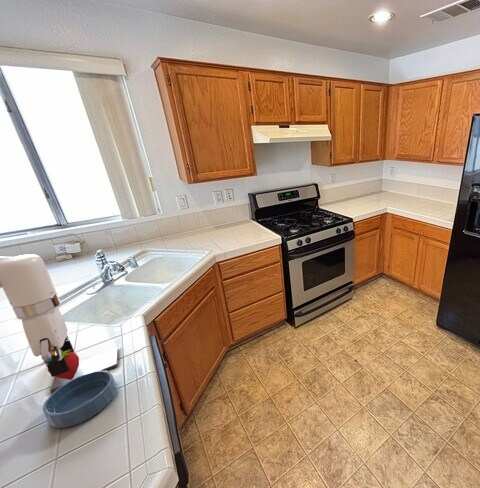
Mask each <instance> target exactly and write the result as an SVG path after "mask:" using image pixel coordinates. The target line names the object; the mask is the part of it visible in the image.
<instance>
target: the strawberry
mask: <svg viewBox="0 0 480 488" xmlns="http://www.w3.org/2000/svg"><path fill="white" fill-rule="evenodd" d="M71 350H72V349H71ZM71 350H67V351H64V352H62V350H61V355H62V358H63V357H64V358H65V360H66V362H67V365H68V367H69V371H68V372H65V373H63V374H60V375H57V376H54V377H58V378H62V379H68V380H71V379H73V378H74V376H75V374H76V372H77V369H78V366H79V362H80V357H79V355H78V354H77V353H76V352H75V351H74V352H69V351H71ZM55 355H56V356H57V354H55ZM47 371H48V372H49V370H48V369H47Z"/></svg>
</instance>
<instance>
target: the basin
mask: <svg viewBox="0 0 480 488" xmlns="http://www.w3.org/2000/svg"><path fill="white" fill-rule="evenodd" d="M117 392H118V385H117V382H116V380H115V377H114V376H113V373H112V372H111V371H110V370H108V371H106V370H98V371H93V372H89V373H86V374H83V375H81V376H78V377H76V378H74V379H73V380H71V381H69V382H67V383H66V384H64V385H63V386H61V387H60V388H58V389H57V390H56V391H55V392H53V393H51V394H50V395H49V396H48V398H47V399H46V400H45V401H44V402H43V406H42V412H43V414H44V416H45V418H46V419H47V421H48V423H49V425H50V426H51V427H54V428H56V429H65V428H69V427H73V426H76V425H78V424H81V423H83V422H85V421H87V420H89V419H91V418H92V417H94V416H95V415H96V414H98V413H99V412H101V411H102V410H103V409H105V408H106V406H108V405H109V404H110V402H111V401H112V400H113V399H114V398H115V395H116V394H117Z"/></svg>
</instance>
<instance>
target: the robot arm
mask: <svg viewBox="0 0 480 488" xmlns="http://www.w3.org/2000/svg"><path fill="white" fill-rule="evenodd" d="M0 289H2V290H3V292H4V294H5V296H6V298H7V301H8V302H9V304H10V306H11V308H12V311H13V313H14V315H15V316H16V318H17V319H18V320H21V324H22V328H23V331H24V334H25V338H26V340H27V342H28V345H29V347H30V350H31V353H32V354H33V356H34V357H36V358H37V357H39V356H41V360H43V363H44V365H45V366H46V367H47V371H48V370H49V371H48V373H49V374H50V376H51V377H53V378H54V377H55V376H57V375H60V374H63V373H65V372H68V371H69V367H68V365H67V362H66V360H65V358H64V357H63V358H62V355H61V350H62V352H64V351H67V350H71V349H72V350H71V351H69V352H74V353H75V349H74V348H73V345H72V343H71V340H70V339H69V335H68V327H67V325H66V322H65V320H64V317H63V315H62V313H61V311H60V308H61V306H62V302H61V300H60V298H59V295H58V292H57V291H56V289H55V285H54V284H53V281H52V279H51V276H50V273H49V271H48V269H47V267H46V264H45V262H44V260H43V258H42V257H41V256H40V255H38V254H22V255H16V256H1V255H0ZM51 347H54V349H52V350H50V348H51ZM54 351H55V355H52V354H51V352H54ZM56 355H57V356H56Z"/></svg>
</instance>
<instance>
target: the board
mask: <svg viewBox="0 0 480 488" xmlns="http://www.w3.org/2000/svg"><path fill="white" fill-rule="evenodd" d="M118 367H119V348H118V347H115V348H112V349H110V350H108V351H105V352H102V353H99V354H97V355H94V356H91V357H88V358H86V359H83V360H81V361H80V360H79V366H78V369H77V372H76V374H75V376H74V378H76V377H78V376H81V375H83V374H86V373H89V372H93V371H98V370H106V371H111V370H113V369H116V368H118ZM74 378H73V379H74ZM73 379H71V380H73ZM71 380H68V379H62V378H58V377H55V376H54V377H53V379H52V384H51V386H50V389H49V392H50V393H51V394H52V393H54V392H55V391H56V390H57V389H58V388H60V387H61V386H63V385H64V384H66V383H67V382H69V381H71Z"/></svg>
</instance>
